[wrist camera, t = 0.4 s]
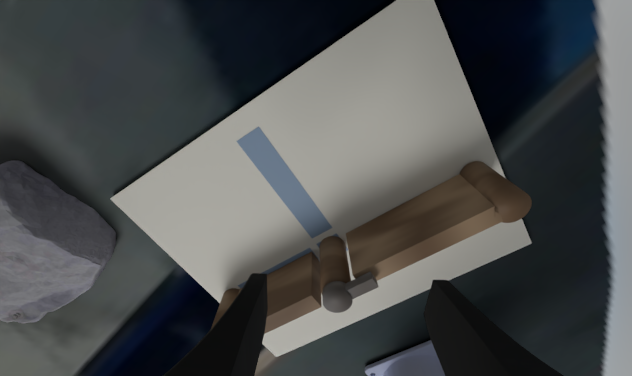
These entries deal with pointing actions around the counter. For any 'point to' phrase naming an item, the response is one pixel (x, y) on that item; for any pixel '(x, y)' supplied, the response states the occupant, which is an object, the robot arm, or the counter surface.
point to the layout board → (327, 168)
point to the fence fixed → (298, 284)
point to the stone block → (46, 245)
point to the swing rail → (426, 228)
